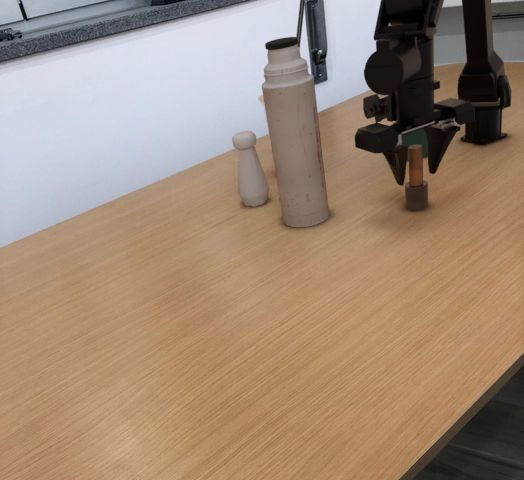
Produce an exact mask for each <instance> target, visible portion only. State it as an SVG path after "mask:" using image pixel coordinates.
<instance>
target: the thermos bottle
mask: <svg viewBox="0 0 524 480" xmlns="http://www.w3.org/2000/svg"><path fill="white" fill-rule="evenodd" d="M264 47H265V50H267V53H266V55H267V56H266V57H267V64H266V65H265V66H264V67H263V78H264V80H265V81H264V82H263V83H262V84H261V91H262V95H263V98H264V104H265V110H266V116H267V123H268V128H267V130H268V129H269V132H268V135H269V141H270V146H271V153H272V159H273V165H274V169H275V174H276V175H275V176H276V181H277V190H278V197H279V204H280V210H281V214H282V221H283V224H285V225H286V226H287V227H292V228H308V227H312V226H316V225H319V224H321V223H323V222H325V221H326V220H327V219H328V218H329V216H330V210H329V200H328V193H327V192H328V191H327V182H326V174H325V166H324V165H325V164H324V156H323V148H322V138H321V131H320V130H321V129H320V123H319V122H320V120H319V112H318V104H317V94H316V86H315V77H314V75H313V74H311V73H309V67H310V66H309V65H308V61H307V59H305V58H304V57H302V56H301V47H300V48H299V47H298V38H297V37H296V36H286V37H280V38H276V39H273V40H270V41H267V42H266V43H264Z"/></svg>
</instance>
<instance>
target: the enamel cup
mask: <svg viewBox="0 0 524 480" xmlns="http://www.w3.org/2000/svg"><path fill="white" fill-rule="evenodd" d="M394 124H396V121H393V122H391V124H390V125H389V126H391V125H394ZM406 128H407V127H406ZM402 144H403V145H406V146H408V147H409V146H411V145H417V144H418V145H422V146H423V159H425V158H428V144H427V136H426V134H425V132H424V130H423V129H420V130H417V131H414V132H412V133H409V134H406V135H403V136H402ZM407 162H409V161H408V153H407Z"/></svg>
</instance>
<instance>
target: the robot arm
mask: <svg viewBox="0 0 524 480" xmlns="http://www.w3.org/2000/svg"><path fill="white" fill-rule="evenodd" d="M444 1H445V0H380V3H379V8H378V13H377V18H376V23H375V28H374V33H373V41H375V51H374V52H373V53H371V54H370V56H369V57H368V58H367V60H366V62H365V65H364V69H363V77H364V81H365V83H366V85H367V87H368V88H369V89H370V91H372V92H373V93H375V94H370V95H368V96H366V97H364V98H362V110H363V114H364V117H365V118H366V120H369V119H373V118H374V121H375V122H373V123H370V124H368V125H365V126H361V127H359V128H357V130H356V132H355V133H354V146H355V148H356V149H359V150H362V151H366V152H369V153H370V154H371V153H372V154H375V155H376V154H382V155H383V156H384V158H385V160H386V161H387V164H388V166H389V168H390V171H391V172H392V175H393V178H394V180H395V182H396V184H397V185H398V186H400V187H403V186H405V181H406V173H407V163H408V161H407V153H408V146H406V145H403V144H402V136H403V135H406V134H409V133H412V132H414V131H417V130H420V129H423V130H424V132H425V134H426V136H427V144H428V156H427V167H428V173H429V174H430V175H435V174H436V173H437V171H438V168H439V167H440V165H441V162H442V161H443V158H444V156H445V154H446V152H447V150H448V149H449V146H450V144H451V143H452V141H453V139H454V138H455V136H456V134H457V133H458V132H460V131H461V128H462V127H461V126H462V125H464V135H463V136H461V137H460V140H461V141H464V142H468V143H471V144H476V145H479V146H480V145H481V146H485V145H487V144H490V143H493V142H496V141H499V140H501V139H504V138H507V137H508V133H506V132H503V131H502V128H503V127H502V125H503V110H505V109H507V108H510V107H511V106H512V93H513V92H512V91H513V90H512V88H511V84H510V81H509V78H508V75H507V74H506V72H505V71H506V70H505V63H504V61H503V59H501V56H499V55H498V54H497V52H496V51H495V50H494V29H493V10H492V7H493V5H492V0H461V8H462V9H461V10H462V20H463V31H464V45H465V57H466V62H465V64H464V66H463V68H462V70H461V72H460V74H459V76H458V79H457V87H456V89H457V90H456V91H457V92H456V93H457V98H453V97H449V98H447V99H443V100H440V101H438V102H435V91H436V90H439V89H441V81H440V80H436V79H435V38H434V35H436V34H437V27H438V24H439V23H438V22H439V19H440V17H441V16H440V15H441V12H442V9H443V6H444ZM379 95H380V96H383V97H380V96H379ZM385 119H386V121H387V122H390V123H394V122H396V124H394V125H391V124H390V125H391V126H390V125H388V124H384V123H380V122H382V121H383V120H385ZM455 124H457V125H455ZM406 127H407V128H406Z"/></svg>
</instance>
